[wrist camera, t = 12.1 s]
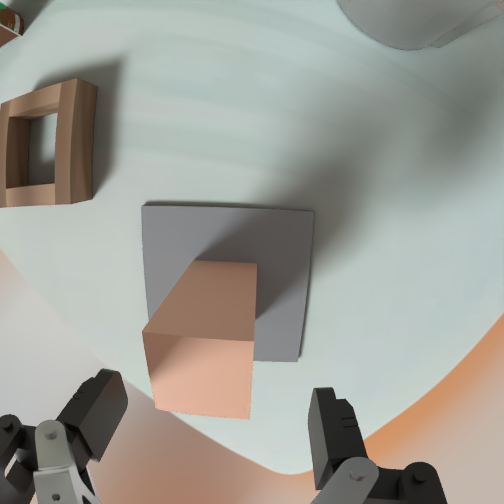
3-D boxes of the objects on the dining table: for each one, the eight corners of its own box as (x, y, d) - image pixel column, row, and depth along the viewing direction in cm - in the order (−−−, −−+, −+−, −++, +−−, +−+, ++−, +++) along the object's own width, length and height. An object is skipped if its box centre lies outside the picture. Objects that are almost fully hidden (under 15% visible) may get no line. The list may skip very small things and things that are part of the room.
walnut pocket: (97, 86, 18) (77, 77, 15) (92, 199, 20) (70, 204, 17) (22, 107, 18) (1, 103, 15) (18, 202, 20) (-3, 207, 17)
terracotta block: (257, 263, 21) (253, 341, 11) (254, 320, 22) (249, 419, 12) (193, 260, 21) (142, 331, 11) (194, 316, 22) (156, 408, 12)
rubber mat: (313, 211, 20) (314, 212, 20) (297, 359, 23) (297, 362, 23) (143, 205, 20) (141, 206, 20) (154, 348, 23) (153, 351, 23)
